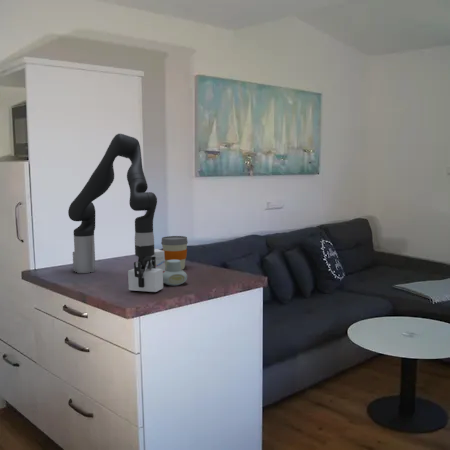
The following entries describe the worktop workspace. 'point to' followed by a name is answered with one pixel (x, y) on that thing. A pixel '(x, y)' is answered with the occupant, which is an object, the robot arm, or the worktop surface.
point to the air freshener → (174, 273)
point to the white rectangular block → (147, 280)
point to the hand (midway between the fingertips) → (145, 285)
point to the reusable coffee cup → (175, 249)
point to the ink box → (159, 259)
